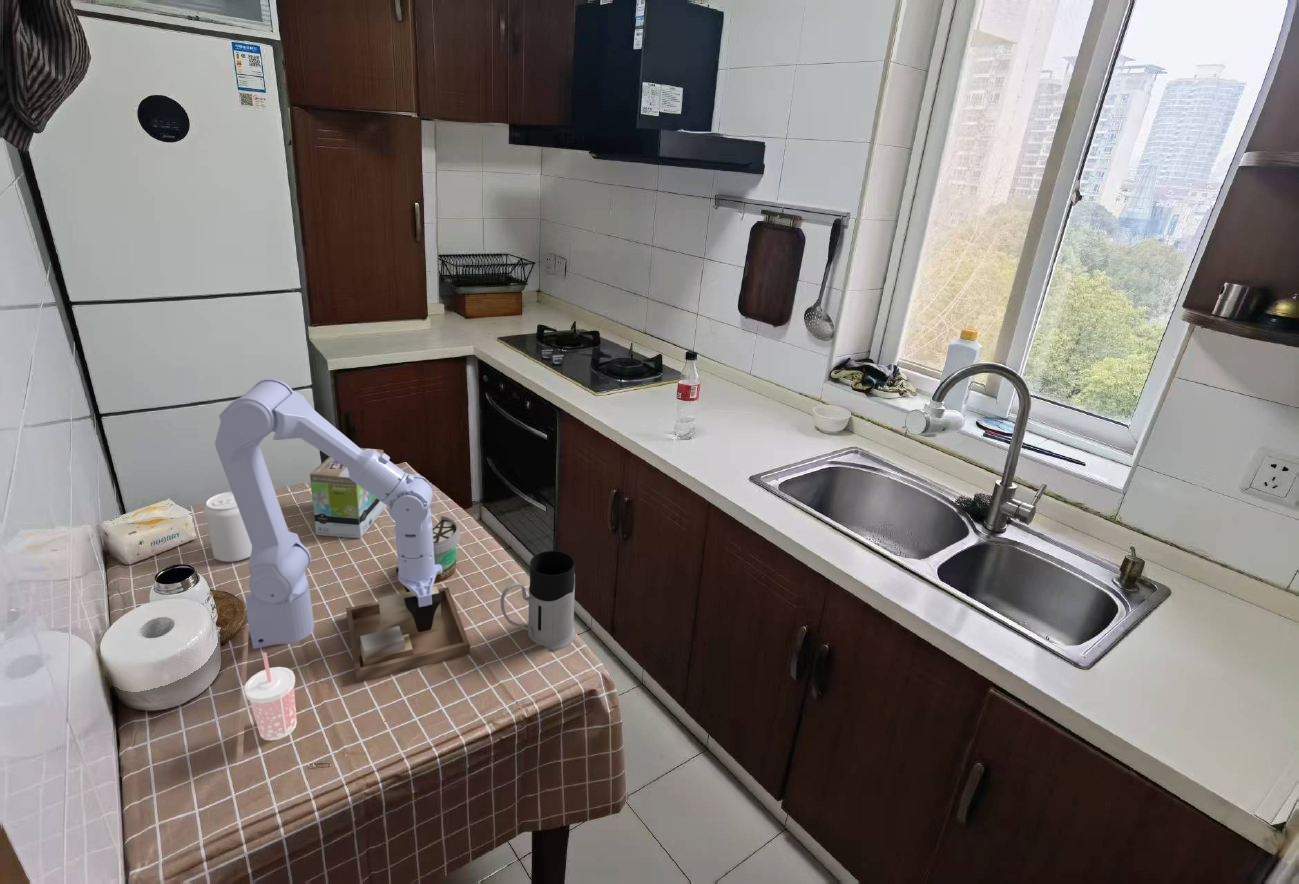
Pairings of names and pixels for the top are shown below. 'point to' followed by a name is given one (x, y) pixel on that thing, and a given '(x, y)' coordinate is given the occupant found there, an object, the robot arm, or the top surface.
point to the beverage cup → (273, 701)
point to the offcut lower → (392, 656)
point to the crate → (425, 645)
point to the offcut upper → (382, 643)
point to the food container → (445, 547)
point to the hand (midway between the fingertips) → (420, 616)
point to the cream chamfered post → (404, 614)
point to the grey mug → (549, 600)
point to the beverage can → (226, 528)
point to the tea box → (341, 502)
